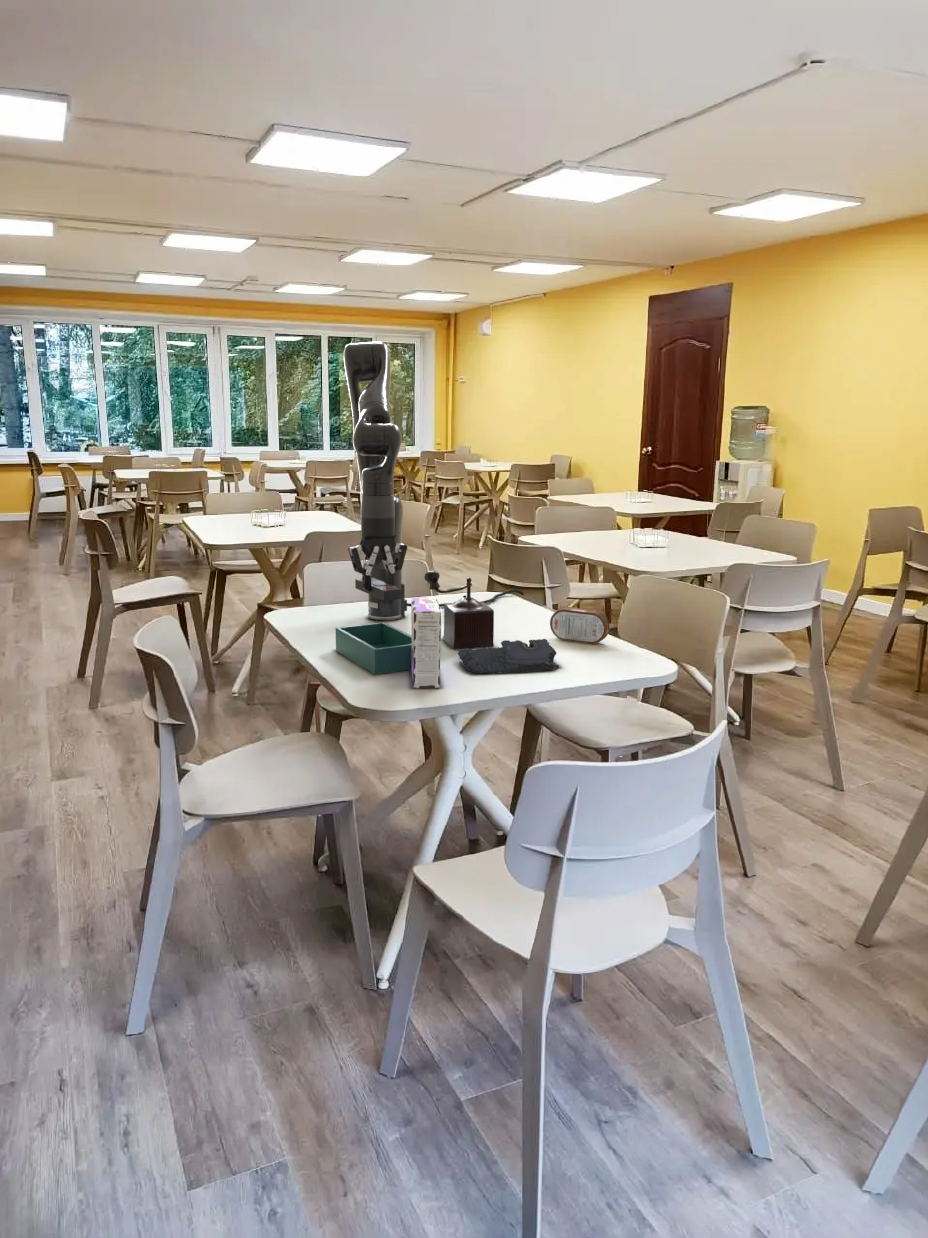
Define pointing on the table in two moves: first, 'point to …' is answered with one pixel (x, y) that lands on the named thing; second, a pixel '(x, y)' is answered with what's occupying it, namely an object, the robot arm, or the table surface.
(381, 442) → the robot arm
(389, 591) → the remote
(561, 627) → the tin
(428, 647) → the candy box
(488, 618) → the manual coffee grinder
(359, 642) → the bin
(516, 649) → the dark slate chunk
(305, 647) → the table surface
